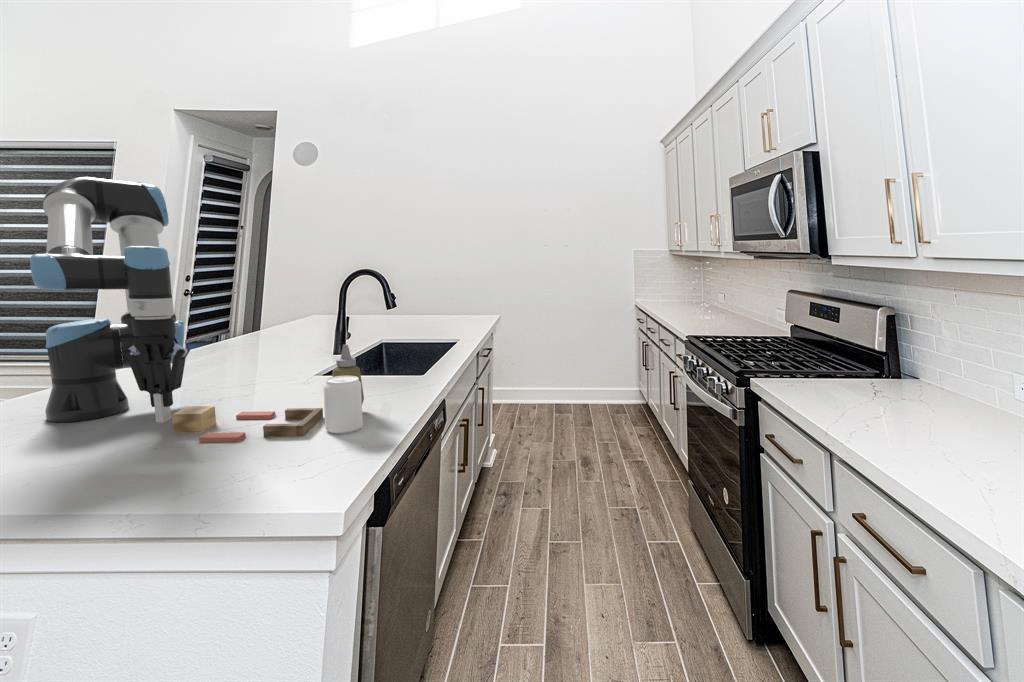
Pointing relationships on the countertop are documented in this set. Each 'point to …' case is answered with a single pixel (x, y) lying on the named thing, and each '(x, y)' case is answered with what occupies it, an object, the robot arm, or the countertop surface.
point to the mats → (236, 435)
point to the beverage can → (342, 404)
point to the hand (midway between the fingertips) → (163, 420)
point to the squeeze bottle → (347, 367)
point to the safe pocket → (295, 430)
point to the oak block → (193, 419)
